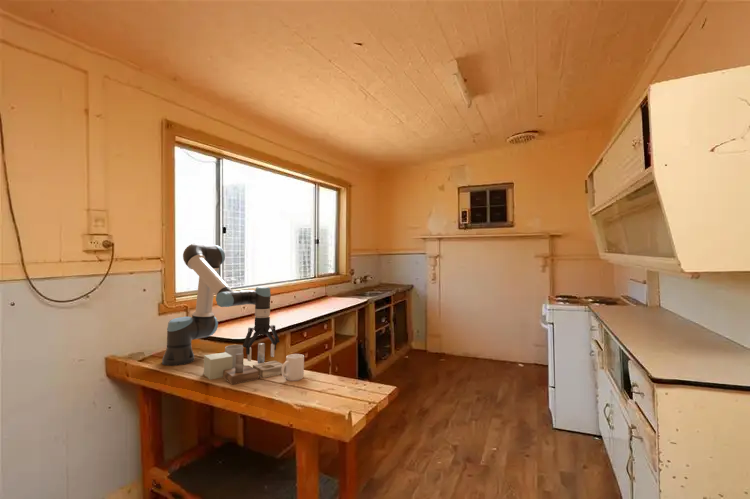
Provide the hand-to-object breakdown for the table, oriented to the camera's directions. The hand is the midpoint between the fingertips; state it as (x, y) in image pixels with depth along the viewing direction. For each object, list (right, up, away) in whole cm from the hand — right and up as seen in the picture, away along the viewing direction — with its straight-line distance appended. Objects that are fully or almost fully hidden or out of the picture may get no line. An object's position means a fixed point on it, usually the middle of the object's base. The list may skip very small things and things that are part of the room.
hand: (261, 358), depth 178 cm
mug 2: (+20, -4, -18) cm, 28 cm away
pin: (0, -4, 0) cm, 4 cm away
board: (-3, -3, -18) cm, 19 cm away
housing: (-16, -3, -14) cm, 21 cm away
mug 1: (-15, -4, +3) cm, 16 cm away
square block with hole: (+7, -4, -9) cm, 12 cm away
